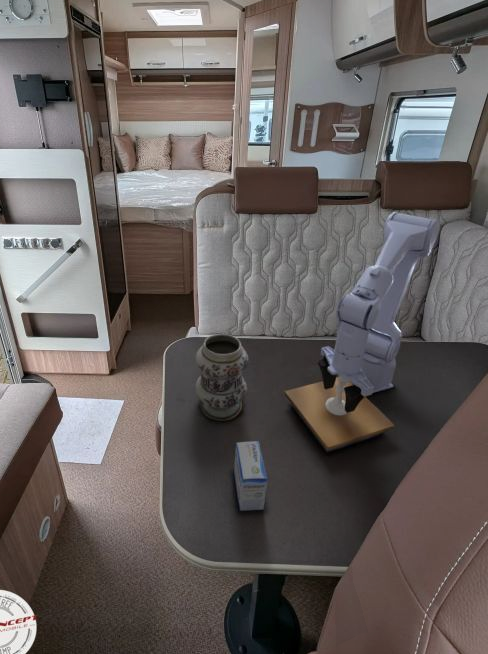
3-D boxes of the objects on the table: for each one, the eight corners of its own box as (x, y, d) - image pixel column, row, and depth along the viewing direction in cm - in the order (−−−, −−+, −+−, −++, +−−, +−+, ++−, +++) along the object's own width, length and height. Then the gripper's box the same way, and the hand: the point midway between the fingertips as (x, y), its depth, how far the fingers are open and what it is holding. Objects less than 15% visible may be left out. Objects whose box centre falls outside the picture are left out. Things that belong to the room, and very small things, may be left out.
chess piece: (349, 417, 79) (358, 381, 75) (326, 413, 80) (333, 378, 76) (346, 401, 84) (354, 366, 79) (324, 397, 85) (331, 363, 80)
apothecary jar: (235, 384, 94) (238, 325, 86) (253, 418, 84) (258, 355, 76) (190, 393, 91) (189, 333, 83) (203, 429, 81) (203, 365, 73)
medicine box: (233, 472, 71) (235, 441, 68) (255, 470, 72) (258, 439, 68) (239, 512, 64) (242, 480, 61) (264, 510, 65) (268, 478, 61)
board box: (340, 387, 94) (343, 375, 92) (390, 438, 79) (394, 425, 77) (283, 403, 88) (284, 391, 86) (325, 461, 74) (328, 447, 72)
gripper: (312, 333, 80) (305, 381, 86) (357, 374, 67) (344, 427, 73) (339, 328, 82) (330, 375, 88) (387, 366, 70) (372, 418, 76)
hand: (338, 398), depth 81 cm, fingers open, 7 cm apart
